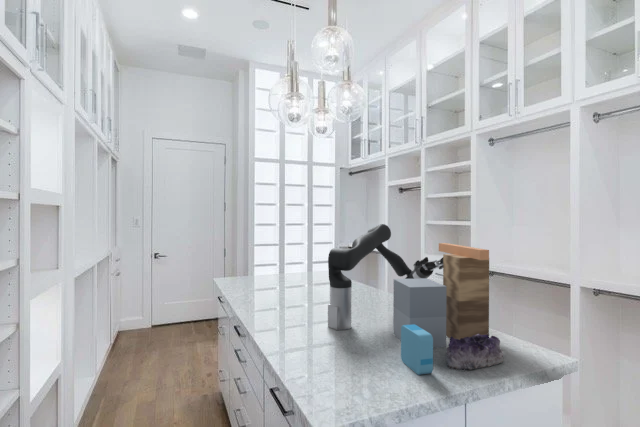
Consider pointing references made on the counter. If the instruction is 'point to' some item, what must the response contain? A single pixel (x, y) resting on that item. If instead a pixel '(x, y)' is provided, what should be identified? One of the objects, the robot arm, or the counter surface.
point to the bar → (464, 251)
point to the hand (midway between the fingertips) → (436, 258)
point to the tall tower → (466, 296)
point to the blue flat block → (417, 349)
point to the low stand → (420, 307)
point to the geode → (473, 352)
